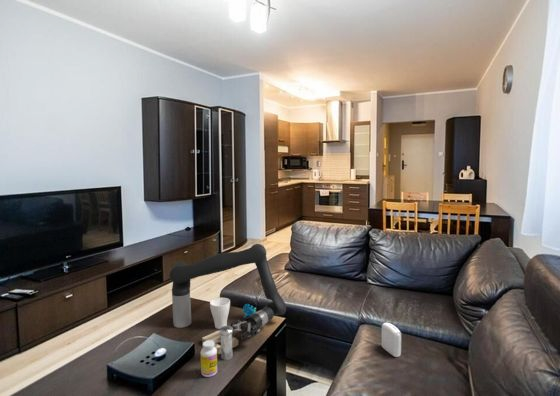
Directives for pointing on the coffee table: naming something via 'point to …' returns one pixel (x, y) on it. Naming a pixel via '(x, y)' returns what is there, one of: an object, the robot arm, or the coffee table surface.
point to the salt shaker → (226, 342)
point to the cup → (220, 311)
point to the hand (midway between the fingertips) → (234, 334)
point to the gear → (248, 310)
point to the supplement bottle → (208, 359)
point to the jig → (218, 340)
